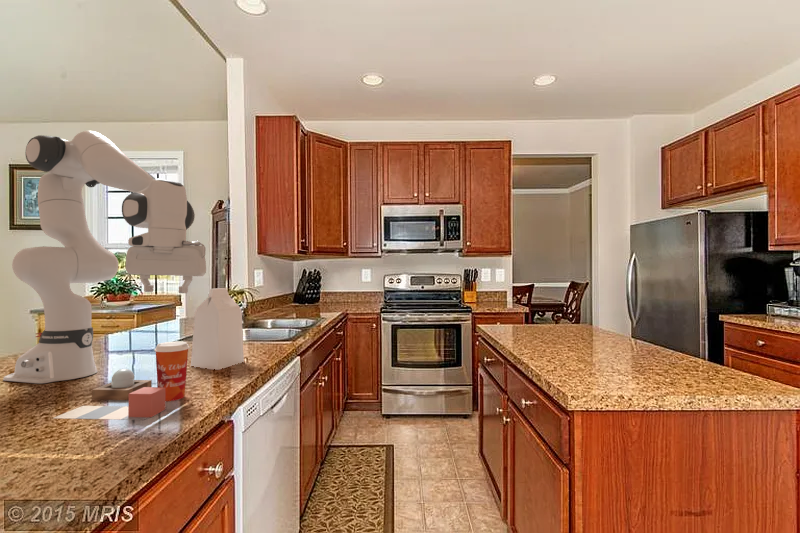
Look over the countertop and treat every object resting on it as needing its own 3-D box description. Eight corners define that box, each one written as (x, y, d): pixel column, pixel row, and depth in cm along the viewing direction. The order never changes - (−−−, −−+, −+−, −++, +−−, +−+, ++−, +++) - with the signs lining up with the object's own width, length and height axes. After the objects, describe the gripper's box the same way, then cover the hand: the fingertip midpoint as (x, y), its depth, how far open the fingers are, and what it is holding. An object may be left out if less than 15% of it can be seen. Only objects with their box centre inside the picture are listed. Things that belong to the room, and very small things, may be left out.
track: (52, 420, 87) (52, 418, 87) (82, 408, 95) (82, 405, 95) (143, 422, 86) (143, 419, 86) (166, 409, 94) (166, 407, 94)
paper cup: (152, 406, 96) (153, 347, 96) (154, 397, 103) (155, 342, 103) (189, 402, 100) (190, 344, 100) (189, 393, 107) (190, 340, 107)
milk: (217, 359, 147) (218, 287, 147) (243, 362, 143) (244, 288, 144) (190, 366, 136) (191, 288, 136) (217, 369, 132) (218, 289, 132)
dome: (106, 396, 102) (106, 371, 102) (120, 391, 106) (120, 366, 106) (125, 397, 101) (125, 371, 101) (138, 391, 106) (138, 366, 106)
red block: (128, 416, 88) (128, 393, 88) (143, 409, 93) (143, 387, 93) (151, 417, 88) (151, 394, 88) (165, 409, 93) (165, 387, 93)
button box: (91, 401, 100) (91, 389, 100) (118, 391, 109) (118, 379, 109) (127, 402, 99) (127, 390, 99) (151, 391, 108) (151, 380, 108)
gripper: (211, 242, 111) (210, 293, 111) (138, 240, 112) (137, 290, 112) (199, 240, 105) (197, 294, 105) (122, 238, 106) (120, 291, 106)
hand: (165, 292), depth 108 cm, fingers open, 8 cm apart
